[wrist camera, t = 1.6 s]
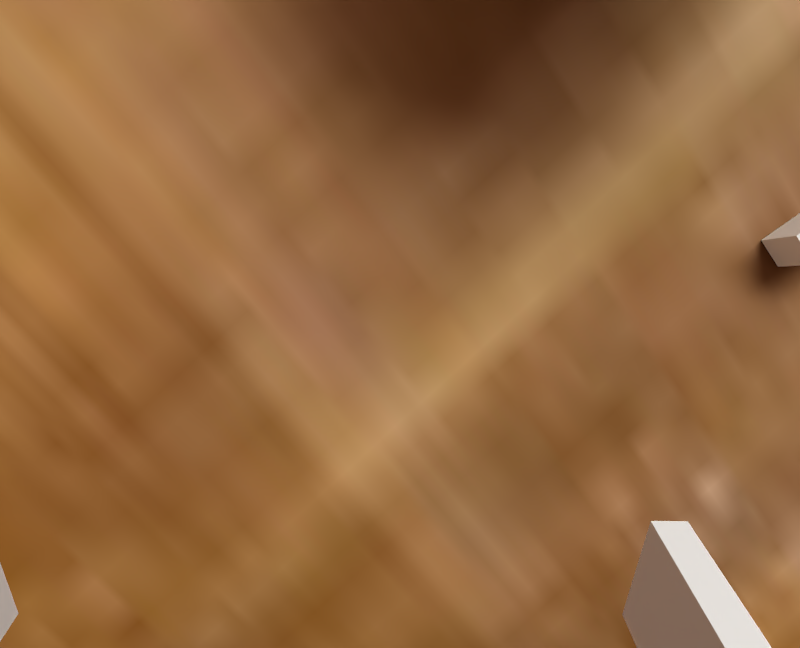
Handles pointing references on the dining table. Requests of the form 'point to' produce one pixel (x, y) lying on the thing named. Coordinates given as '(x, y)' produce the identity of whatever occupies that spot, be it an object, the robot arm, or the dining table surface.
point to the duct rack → (785, 243)
